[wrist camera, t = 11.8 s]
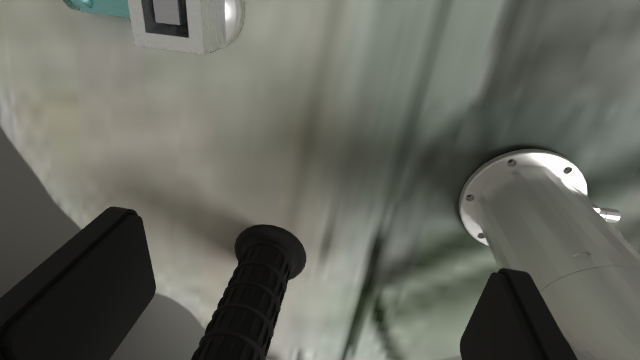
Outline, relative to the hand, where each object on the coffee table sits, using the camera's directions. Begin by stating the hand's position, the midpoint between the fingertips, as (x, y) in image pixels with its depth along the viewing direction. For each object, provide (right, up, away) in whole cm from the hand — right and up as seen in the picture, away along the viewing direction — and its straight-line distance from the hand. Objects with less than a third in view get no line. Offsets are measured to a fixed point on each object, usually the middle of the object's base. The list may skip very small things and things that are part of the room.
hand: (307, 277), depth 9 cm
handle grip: (-7, -7, +38) cm, 39 cm away
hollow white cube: (-11, +18, +21) cm, 30 cm away
